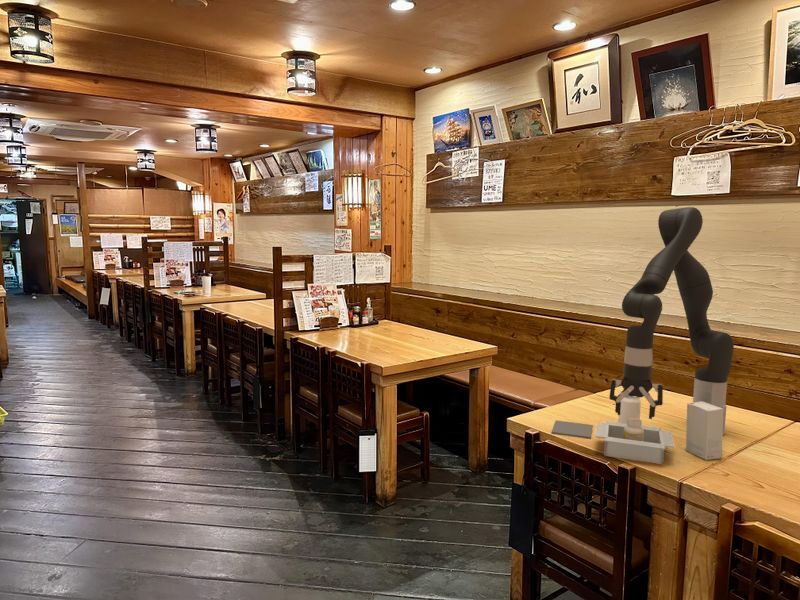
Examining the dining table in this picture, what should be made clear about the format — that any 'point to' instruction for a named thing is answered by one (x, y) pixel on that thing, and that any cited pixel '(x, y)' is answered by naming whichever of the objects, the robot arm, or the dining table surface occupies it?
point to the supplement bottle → (634, 430)
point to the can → (629, 408)
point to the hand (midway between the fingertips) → (634, 416)
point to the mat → (572, 429)
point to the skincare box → (704, 430)
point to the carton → (634, 442)
